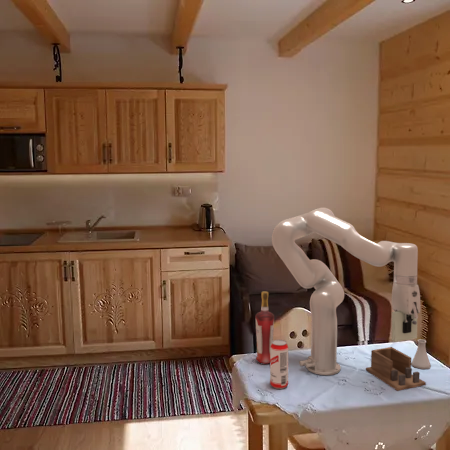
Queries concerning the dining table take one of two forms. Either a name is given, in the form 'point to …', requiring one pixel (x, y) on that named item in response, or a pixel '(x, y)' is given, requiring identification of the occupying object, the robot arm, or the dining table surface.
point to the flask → (421, 356)
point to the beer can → (279, 364)
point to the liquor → (264, 331)
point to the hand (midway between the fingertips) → (404, 331)
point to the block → (398, 328)
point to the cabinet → (394, 369)
